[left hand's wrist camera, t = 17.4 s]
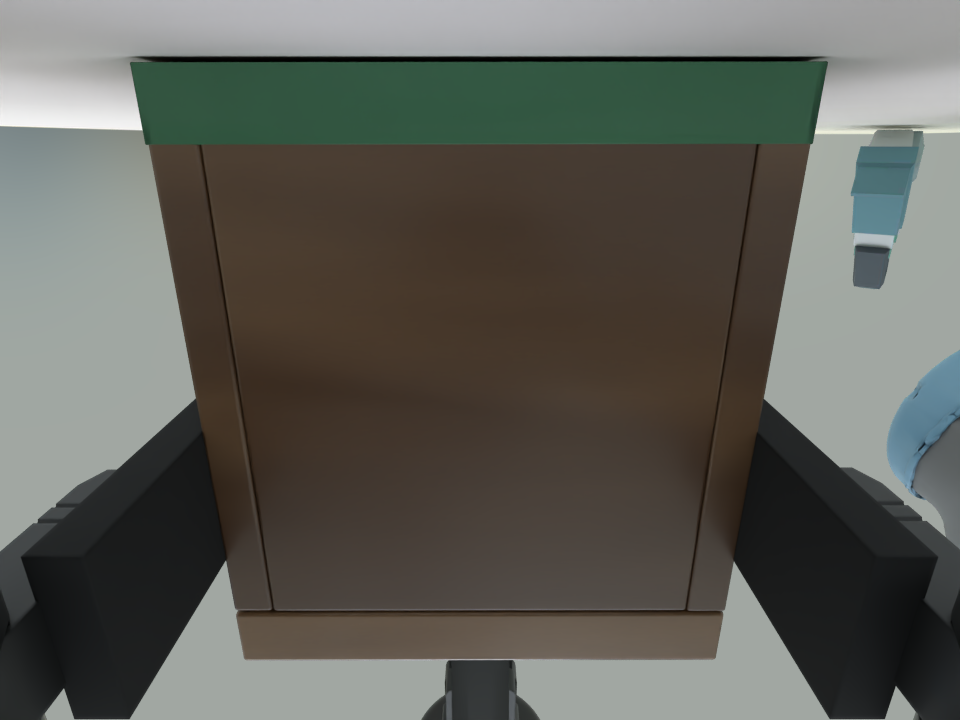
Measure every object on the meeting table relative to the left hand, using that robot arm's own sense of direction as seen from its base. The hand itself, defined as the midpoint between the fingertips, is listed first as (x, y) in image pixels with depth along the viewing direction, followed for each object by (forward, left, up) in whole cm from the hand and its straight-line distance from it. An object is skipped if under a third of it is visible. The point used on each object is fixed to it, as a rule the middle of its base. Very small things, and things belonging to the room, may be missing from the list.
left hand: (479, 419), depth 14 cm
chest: (0, -5, -7) cm, 9 cm away
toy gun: (+29, -39, -7) cm, 49 cm away
